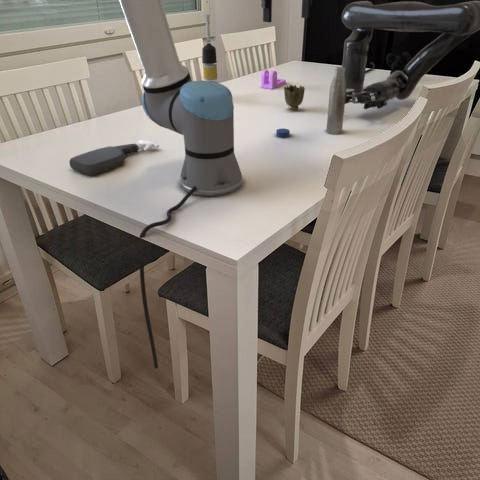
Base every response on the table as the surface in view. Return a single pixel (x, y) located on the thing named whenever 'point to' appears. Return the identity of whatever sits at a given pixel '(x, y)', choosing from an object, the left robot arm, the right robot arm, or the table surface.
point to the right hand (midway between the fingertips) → (353, 103)
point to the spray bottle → (106, 157)
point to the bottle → (336, 102)
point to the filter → (209, 57)
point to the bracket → (271, 80)
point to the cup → (294, 96)
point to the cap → (282, 133)
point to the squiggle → (398, 62)
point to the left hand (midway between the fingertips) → (286, 20)
